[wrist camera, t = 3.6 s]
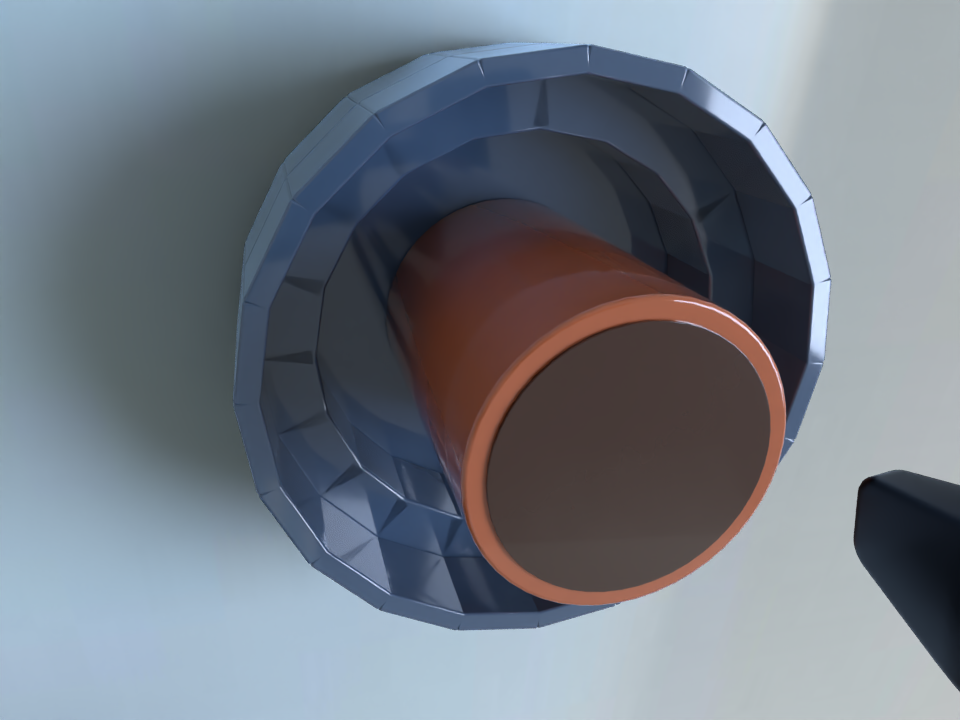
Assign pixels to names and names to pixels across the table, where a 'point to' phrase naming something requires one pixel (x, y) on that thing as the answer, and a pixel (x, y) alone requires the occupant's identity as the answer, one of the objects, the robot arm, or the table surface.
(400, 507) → the bowl
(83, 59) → the table surface
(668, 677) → the table surface
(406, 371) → the cup
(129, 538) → the table surface
